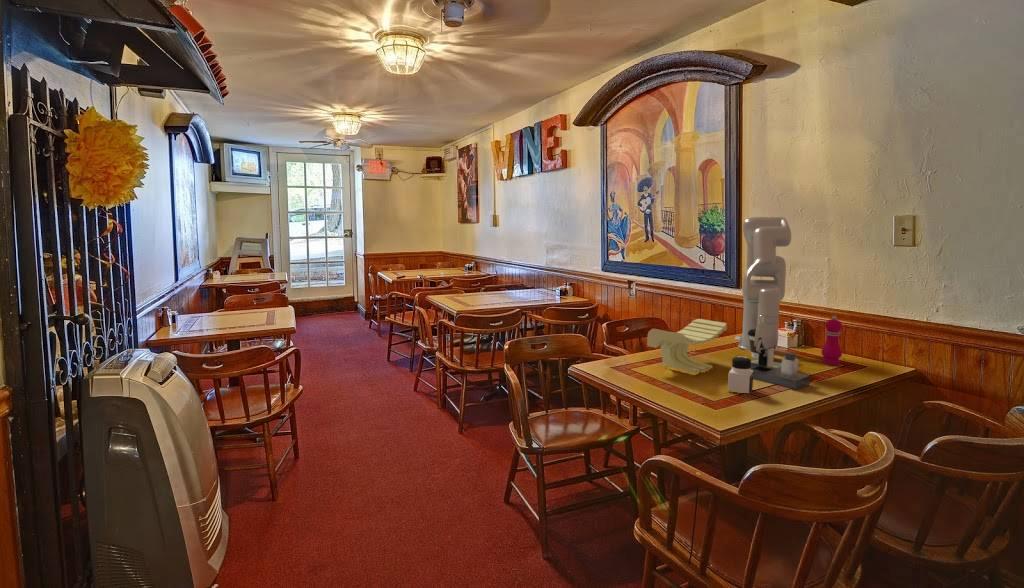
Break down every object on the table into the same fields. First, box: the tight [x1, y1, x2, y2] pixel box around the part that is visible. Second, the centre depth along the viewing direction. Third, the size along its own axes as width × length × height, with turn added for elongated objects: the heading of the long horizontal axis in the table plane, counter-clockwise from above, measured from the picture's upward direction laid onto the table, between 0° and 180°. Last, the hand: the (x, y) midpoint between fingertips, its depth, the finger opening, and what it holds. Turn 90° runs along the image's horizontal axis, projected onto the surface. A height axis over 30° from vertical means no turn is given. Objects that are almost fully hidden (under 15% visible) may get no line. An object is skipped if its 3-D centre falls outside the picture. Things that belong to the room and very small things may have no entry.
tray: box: [751, 359, 782, 369], centre depth 220 cm, size 11×11×2 cm
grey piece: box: [751, 352, 811, 391], centre depth 204 cm, size 24×10×12 cm, turn 36°
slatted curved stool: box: [646, 318, 728, 373], centre depth 220 cm, size 30×16×18 cm, turn 127°
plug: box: [757, 346, 775, 367], centre depth 219 cm, size 4×4×10 cm
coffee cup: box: [748, 329, 759, 360], centre depth 233 cm, size 11×11×12 cm
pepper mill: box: [821, 315, 843, 366], centre depth 224 cm, size 7×7×20 cm
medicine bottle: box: [727, 356, 754, 394], centre depth 192 cm, size 7×7×12 cm
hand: (765, 363), depth 219 cm, fingers closed on plug, 4 cm apart
